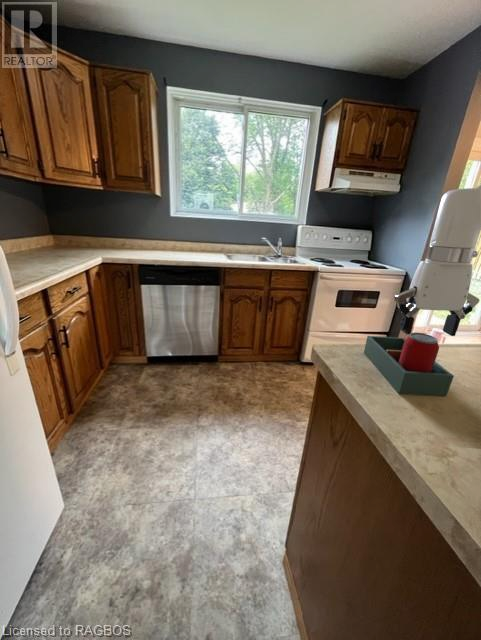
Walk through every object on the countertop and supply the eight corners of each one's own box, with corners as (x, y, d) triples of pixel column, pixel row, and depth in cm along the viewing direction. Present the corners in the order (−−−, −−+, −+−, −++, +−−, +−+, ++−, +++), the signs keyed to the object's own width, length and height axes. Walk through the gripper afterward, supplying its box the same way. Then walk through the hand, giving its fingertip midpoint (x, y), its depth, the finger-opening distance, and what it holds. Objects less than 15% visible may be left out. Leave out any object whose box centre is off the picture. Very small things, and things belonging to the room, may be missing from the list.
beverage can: (432, 387, 64) (448, 341, 60) (413, 392, 62) (428, 345, 57) (407, 373, 70) (419, 330, 66) (388, 377, 67) (400, 333, 63)
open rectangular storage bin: (399, 354, 80) (404, 336, 78) (446, 397, 61) (454, 373, 59) (363, 352, 80) (367, 334, 78) (398, 394, 61) (405, 370, 59)
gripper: (477, 255, 59) (454, 328, 65) (396, 252, 59) (380, 325, 65) (508, 259, 52) (478, 341, 58) (416, 256, 52) (396, 338, 58)
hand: (426, 332), depth 61 cm, fingers open, 9 cm apart
